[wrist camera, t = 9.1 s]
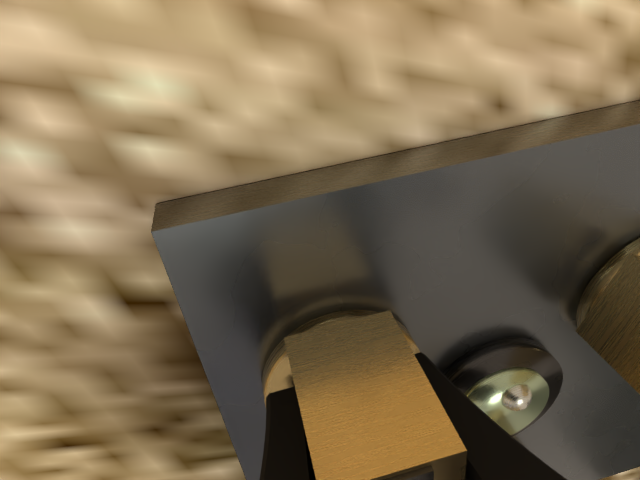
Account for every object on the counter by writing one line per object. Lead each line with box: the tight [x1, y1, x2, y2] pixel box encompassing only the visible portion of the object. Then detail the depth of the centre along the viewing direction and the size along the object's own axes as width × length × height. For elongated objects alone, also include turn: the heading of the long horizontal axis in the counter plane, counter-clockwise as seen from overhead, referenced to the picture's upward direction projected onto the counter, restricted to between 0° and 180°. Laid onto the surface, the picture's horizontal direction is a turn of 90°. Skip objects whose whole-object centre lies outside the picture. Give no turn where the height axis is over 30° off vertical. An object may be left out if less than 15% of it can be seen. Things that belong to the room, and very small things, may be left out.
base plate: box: [151, 100, 640, 480], centre depth 14 cm, size 15×15×2 cm
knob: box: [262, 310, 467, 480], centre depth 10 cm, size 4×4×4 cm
